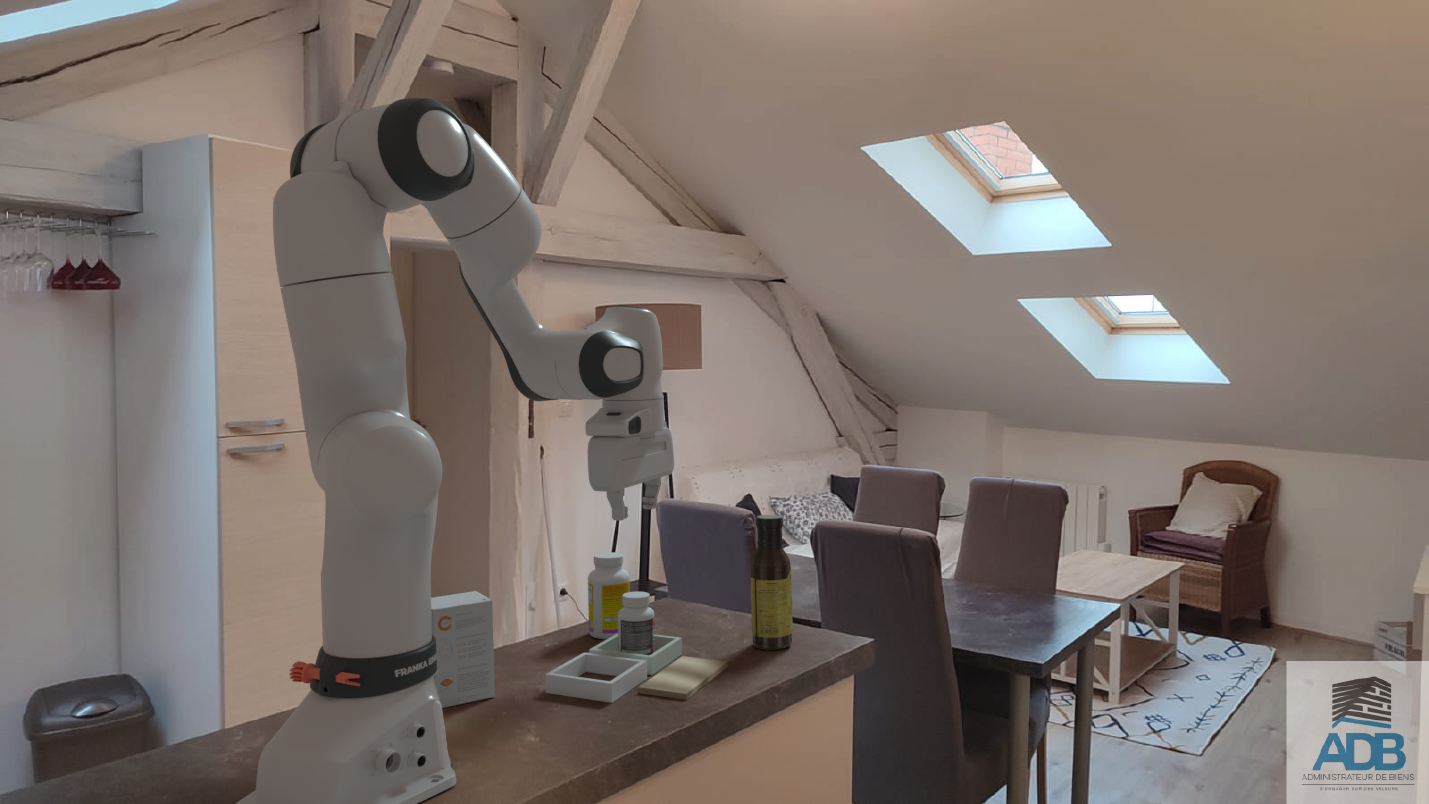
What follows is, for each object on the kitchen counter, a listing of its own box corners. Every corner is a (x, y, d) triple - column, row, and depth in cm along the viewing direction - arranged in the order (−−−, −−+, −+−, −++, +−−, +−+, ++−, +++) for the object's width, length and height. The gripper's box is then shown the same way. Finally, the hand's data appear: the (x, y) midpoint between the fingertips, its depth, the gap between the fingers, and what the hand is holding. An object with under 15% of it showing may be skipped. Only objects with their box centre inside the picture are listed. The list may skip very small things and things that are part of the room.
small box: (479, 684, 132) (477, 589, 131) (495, 698, 127) (493, 599, 126) (419, 696, 127) (417, 598, 127) (434, 711, 122) (431, 609, 121)
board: (686, 699, 125) (686, 693, 125) (638, 692, 128) (638, 687, 128) (727, 667, 138) (727, 661, 138) (682, 661, 141) (682, 656, 141)
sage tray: (652, 675, 135) (651, 657, 135) (589, 666, 139) (589, 649, 139) (682, 654, 144) (681, 637, 144) (622, 646, 148) (622, 630, 148)
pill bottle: (661, 662, 141) (661, 595, 140) (629, 669, 138) (628, 601, 137) (643, 652, 145) (642, 588, 145) (611, 659, 142) (610, 593, 142)
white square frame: (612, 702, 124) (611, 683, 124) (545, 692, 128) (545, 674, 128) (647, 678, 134) (647, 660, 133) (584, 669, 137) (583, 652, 137)
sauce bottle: (800, 646, 147) (800, 517, 146) (768, 654, 144) (768, 521, 143) (774, 636, 153) (773, 511, 152) (742, 644, 149) (741, 515, 148)
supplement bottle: (639, 632, 156) (638, 553, 155) (613, 643, 150) (612, 561, 149) (606, 626, 159) (605, 549, 158) (580, 636, 154) (578, 556, 153)
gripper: (646, 413, 150) (648, 501, 151) (578, 424, 132) (581, 525, 132) (683, 414, 148) (685, 503, 149) (619, 425, 129) (621, 527, 130)
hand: (635, 514), depth 140 cm, fingers open, 8 cm apart
